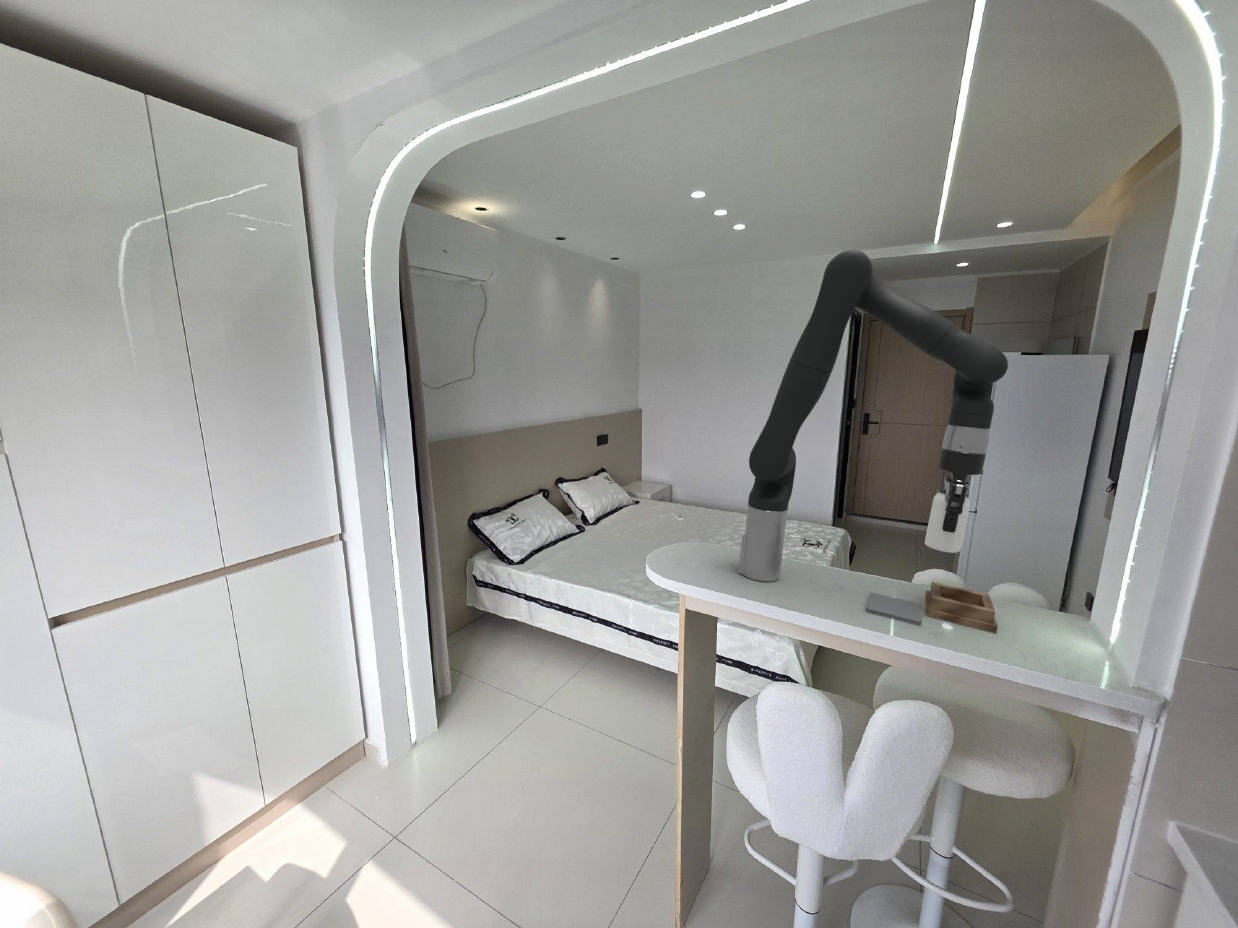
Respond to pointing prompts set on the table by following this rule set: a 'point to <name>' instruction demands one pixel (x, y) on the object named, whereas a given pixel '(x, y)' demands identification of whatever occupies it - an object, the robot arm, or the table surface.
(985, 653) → the table surface
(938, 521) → the can
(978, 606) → the socket block
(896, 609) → the mat
